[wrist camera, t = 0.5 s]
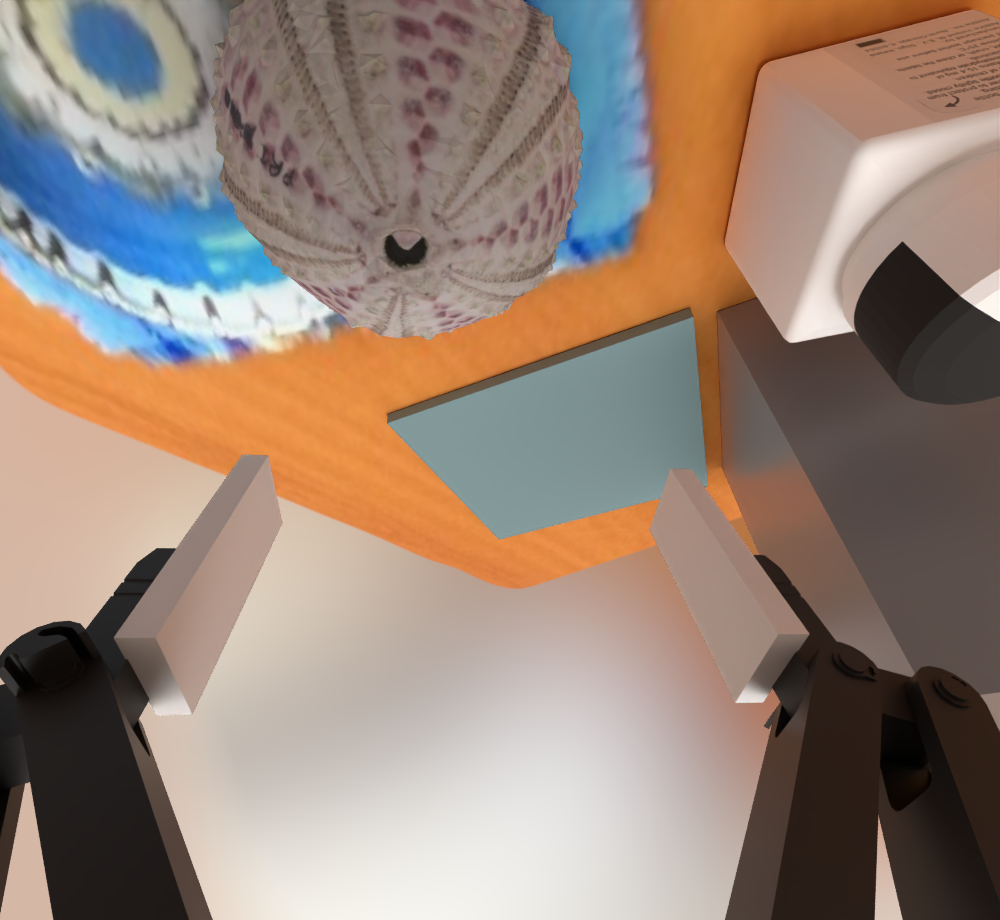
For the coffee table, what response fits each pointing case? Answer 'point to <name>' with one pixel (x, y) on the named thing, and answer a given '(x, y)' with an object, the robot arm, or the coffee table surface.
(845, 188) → the container
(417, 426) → the mat
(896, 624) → the stand
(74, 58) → the coffee table surface
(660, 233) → the coffee table surface
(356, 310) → the sea urchin shell
